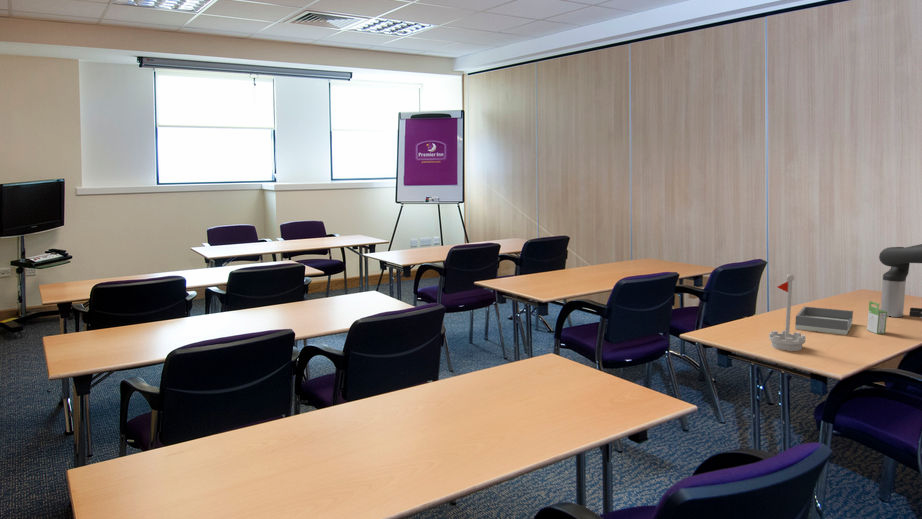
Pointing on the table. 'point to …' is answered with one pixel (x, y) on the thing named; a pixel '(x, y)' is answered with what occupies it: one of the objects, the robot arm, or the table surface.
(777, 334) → the flag stand
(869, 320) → the ink box
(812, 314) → the tray
